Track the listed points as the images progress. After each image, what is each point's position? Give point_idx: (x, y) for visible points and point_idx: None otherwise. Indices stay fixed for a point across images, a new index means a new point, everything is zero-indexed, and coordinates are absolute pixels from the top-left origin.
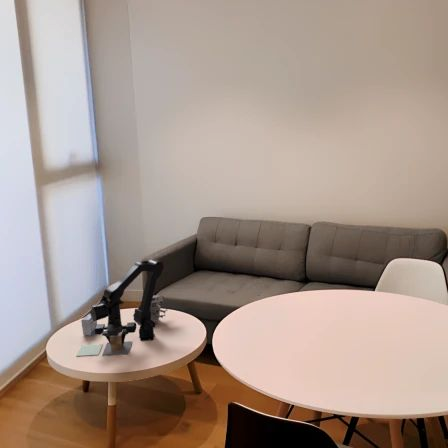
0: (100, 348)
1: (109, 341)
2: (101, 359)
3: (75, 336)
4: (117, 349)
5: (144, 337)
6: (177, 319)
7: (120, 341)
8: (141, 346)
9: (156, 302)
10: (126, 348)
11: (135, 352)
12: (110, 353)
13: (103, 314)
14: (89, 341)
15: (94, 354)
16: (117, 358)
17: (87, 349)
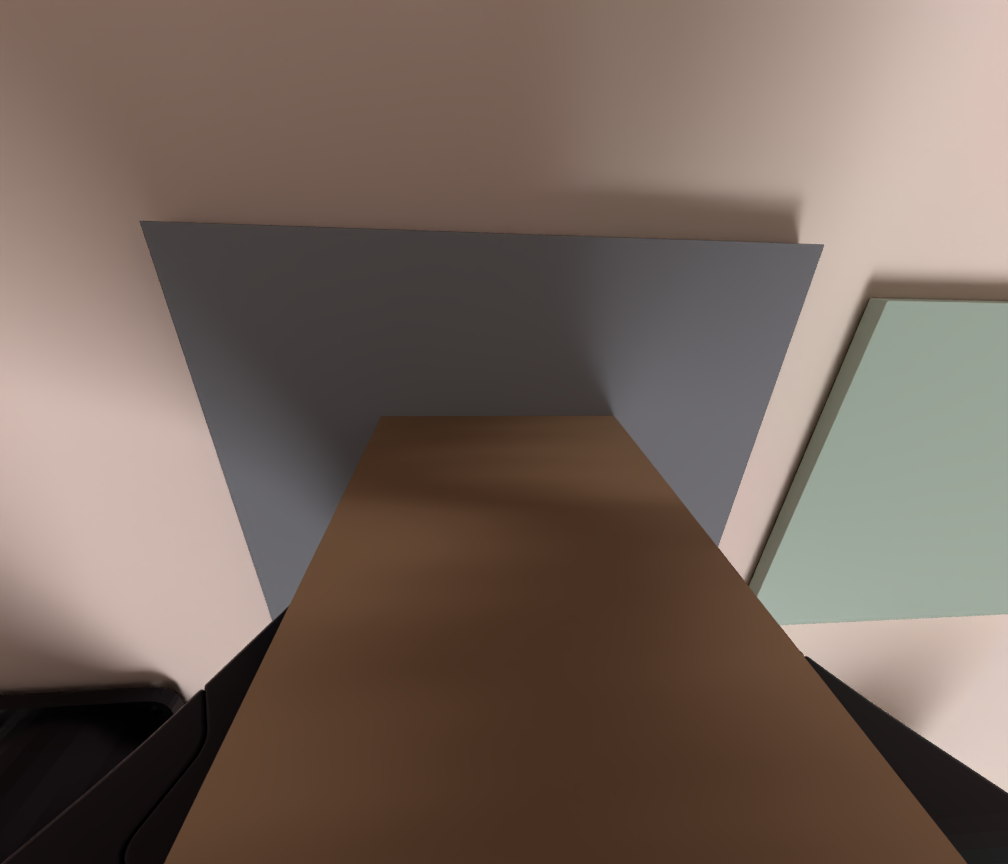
0: (795, 520)
1: None
2: (854, 35)
3: (974, 759)
4: (480, 424)
5: (69, 751)
6: None
7: (330, 576)
8: (48, 542)
9: None
10: (299, 470)
11: (28, 310)
12: (628, 286)
13: None
14: (875, 688)
15: (961, 309)
16: (416, 3)
17: (997, 509)
